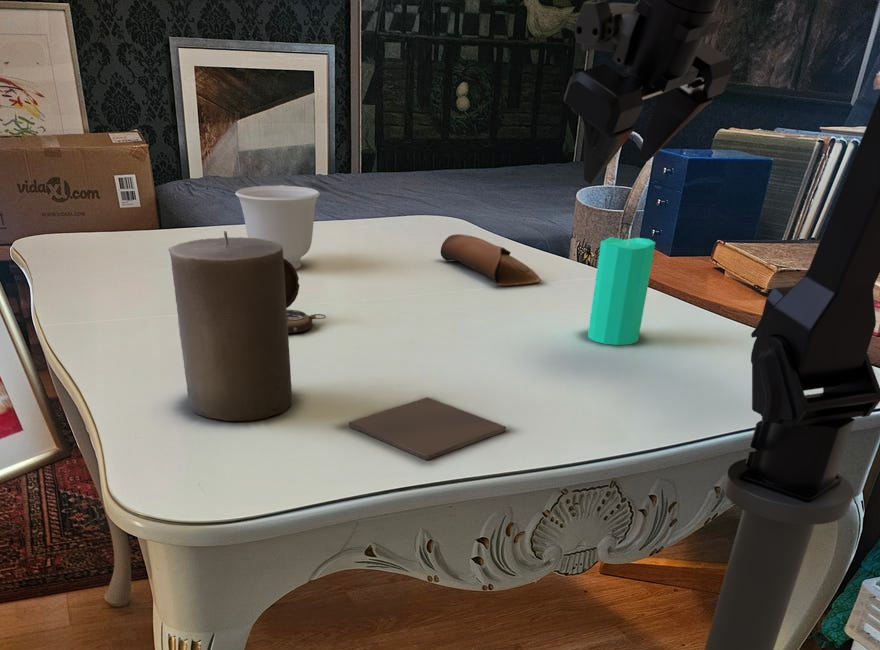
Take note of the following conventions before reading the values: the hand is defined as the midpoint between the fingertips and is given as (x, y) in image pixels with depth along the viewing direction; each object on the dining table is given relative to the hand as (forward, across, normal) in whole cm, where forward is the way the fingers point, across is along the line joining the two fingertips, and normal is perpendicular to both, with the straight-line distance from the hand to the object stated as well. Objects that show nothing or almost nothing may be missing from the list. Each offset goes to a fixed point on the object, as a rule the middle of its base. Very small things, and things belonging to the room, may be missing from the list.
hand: (616, 170), depth 88 cm
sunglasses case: (+32, -16, -22) cm, 42 cm away
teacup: (+38, +6, -44) cm, 59 cm away
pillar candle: (+14, +43, -4) cm, 46 cm away
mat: (+9, +34, +10) cm, 37 cm away
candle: (+17, -2, +7) cm, 19 cm away
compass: (+24, +24, -20) cm, 40 cm away
